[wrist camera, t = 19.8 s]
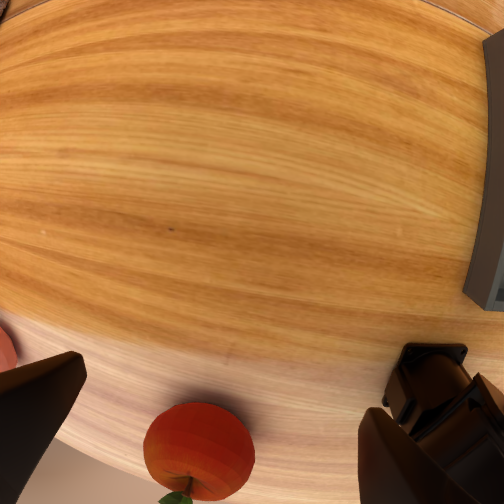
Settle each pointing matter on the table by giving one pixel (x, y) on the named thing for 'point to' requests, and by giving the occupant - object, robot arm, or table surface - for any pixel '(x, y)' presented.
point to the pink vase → (7, 352)
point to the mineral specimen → (2, 5)
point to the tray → (491, 192)
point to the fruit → (198, 453)
